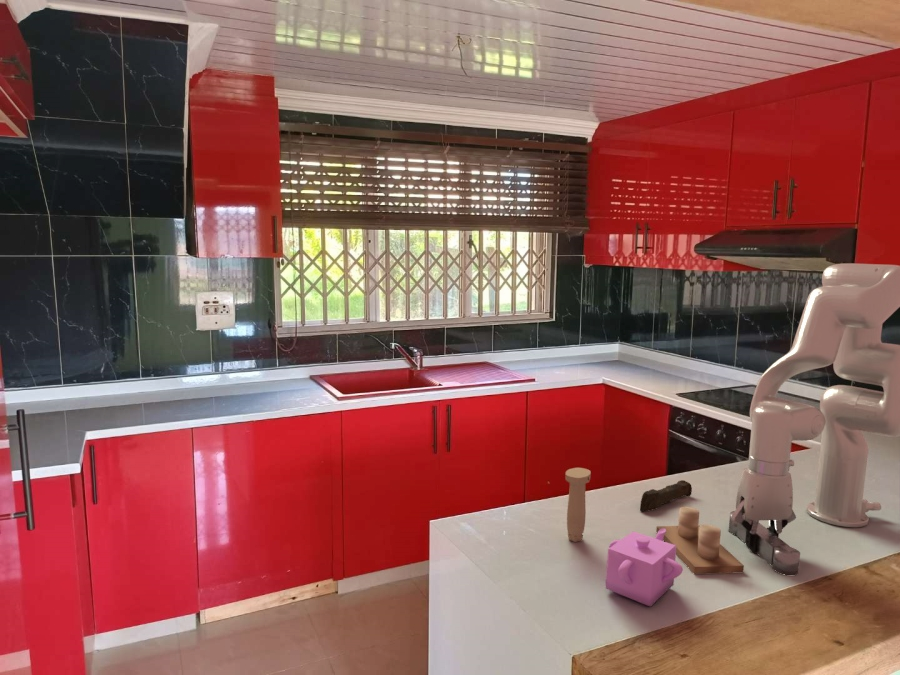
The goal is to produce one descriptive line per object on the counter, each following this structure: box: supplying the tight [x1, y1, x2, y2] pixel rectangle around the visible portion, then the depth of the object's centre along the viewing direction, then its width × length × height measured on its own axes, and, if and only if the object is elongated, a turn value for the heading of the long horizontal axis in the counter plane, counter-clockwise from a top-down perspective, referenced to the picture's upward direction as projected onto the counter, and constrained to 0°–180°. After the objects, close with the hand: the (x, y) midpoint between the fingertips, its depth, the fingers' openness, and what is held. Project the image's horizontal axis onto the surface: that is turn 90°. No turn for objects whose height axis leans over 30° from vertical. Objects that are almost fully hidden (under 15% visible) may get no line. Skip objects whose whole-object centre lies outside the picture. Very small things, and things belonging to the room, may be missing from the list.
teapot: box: [605, 529, 684, 607], centre depth 116 cm, size 18×14×10 cm
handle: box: [565, 467, 592, 543], centre depth 136 cm, size 5×6×15 cm
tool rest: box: [655, 506, 745, 575], centre depth 132 cm, size 10×18×7 cm, turn 5°
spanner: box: [728, 510, 801, 576], centre depth 133 cm, size 5×21×4 cm, turn 5°
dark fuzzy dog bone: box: [639, 480, 693, 512], centre depth 158 cm, size 19×4×5 cm, turn 125°
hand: (761, 548), depth 134 cm, fingers closed on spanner, 3 cm apart
